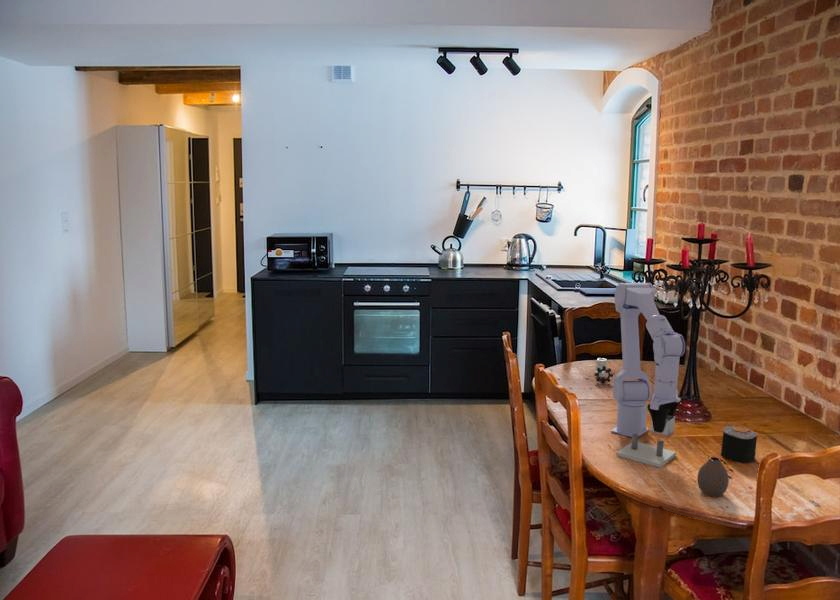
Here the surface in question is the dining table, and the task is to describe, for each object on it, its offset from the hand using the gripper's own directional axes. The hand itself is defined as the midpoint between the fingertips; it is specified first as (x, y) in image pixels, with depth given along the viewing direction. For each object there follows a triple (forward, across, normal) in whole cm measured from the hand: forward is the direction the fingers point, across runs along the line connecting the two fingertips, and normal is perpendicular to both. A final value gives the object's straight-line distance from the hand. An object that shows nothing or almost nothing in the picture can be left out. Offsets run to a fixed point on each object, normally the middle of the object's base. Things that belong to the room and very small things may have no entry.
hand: (661, 429), depth 191 cm
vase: (+9, -12, -17) cm, 23 cm away
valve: (+9, +60, +45) cm, 75 cm away
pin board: (+8, 0, +4) cm, 9 cm away
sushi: (+9, +16, -16) cm, 24 cm away
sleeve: (+2, 0, 0) cm, 2 cm away
